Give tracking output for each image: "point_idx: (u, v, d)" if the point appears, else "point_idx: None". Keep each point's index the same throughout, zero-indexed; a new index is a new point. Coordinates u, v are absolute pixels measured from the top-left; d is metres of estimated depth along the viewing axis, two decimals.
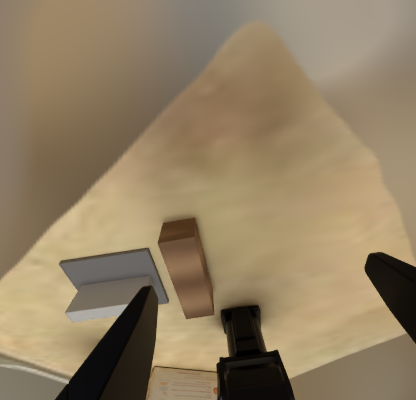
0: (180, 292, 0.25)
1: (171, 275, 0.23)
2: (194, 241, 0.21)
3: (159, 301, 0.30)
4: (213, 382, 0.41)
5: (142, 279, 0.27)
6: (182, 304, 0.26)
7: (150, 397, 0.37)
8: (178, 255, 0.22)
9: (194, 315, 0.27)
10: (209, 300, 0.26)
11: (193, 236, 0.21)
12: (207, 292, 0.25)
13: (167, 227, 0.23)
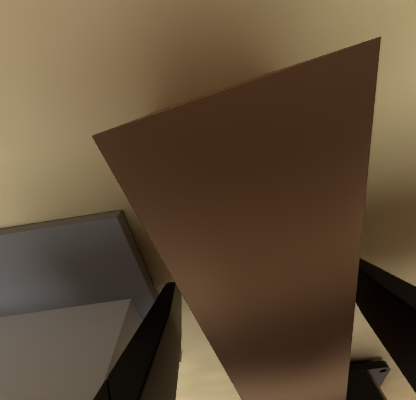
0: (244, 375, 0.07)
1: (207, 325, 0.05)
2: (367, 90, 0.03)
3: None
4: None
5: (107, 311, 0.09)
6: None
7: None
8: (242, 219, 0.04)
9: None
10: (343, 385, 0.07)
11: None
12: (344, 365, 0.07)
13: None
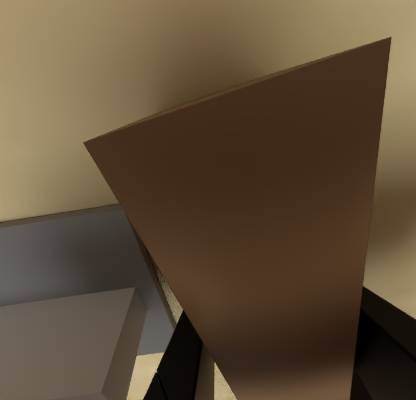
0: (244, 384, 0.06)
1: (206, 334, 0.05)
2: (375, 94, 0.03)
3: (160, 346, 0.13)
4: None
5: (113, 298, 0.10)
6: None
7: None
8: (243, 228, 0.03)
9: None
10: (346, 393, 0.07)
11: (371, 43, 0.02)
12: (347, 373, 0.06)
13: (162, 112, 0.05)
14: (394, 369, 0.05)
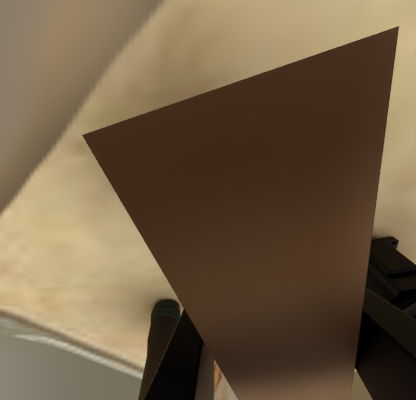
0: (245, 383, 0.06)
1: (207, 333, 0.05)
2: (381, 86, 0.02)
3: None
4: None
5: None
6: None
7: (225, 378, 0.26)
8: (244, 224, 0.03)
9: None
10: (347, 393, 0.07)
11: (378, 33, 0.02)
12: (348, 373, 0.06)
13: None
14: (394, 369, 0.05)
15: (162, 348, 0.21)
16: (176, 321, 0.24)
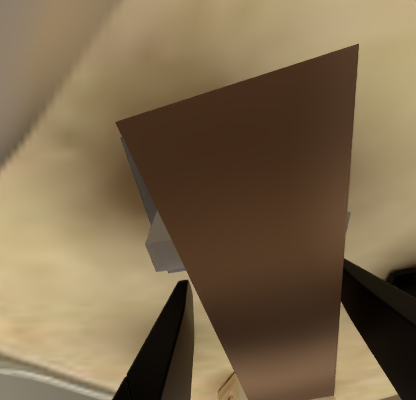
0: (240, 353, 0.07)
1: (207, 301, 0.06)
2: (348, 88, 0.03)
3: None
4: None
5: None
6: (244, 381, 0.08)
7: None
8: (242, 200, 0.04)
9: None
10: (332, 365, 0.08)
11: (345, 48, 0.03)
12: (333, 344, 0.07)
13: None
14: None
15: None
16: None
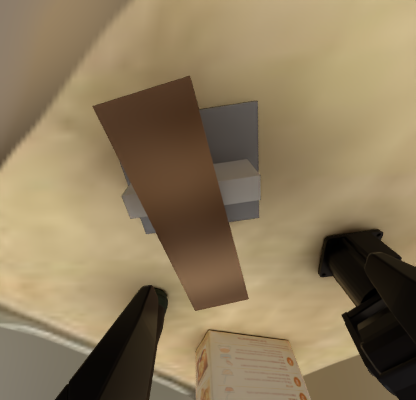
0: (175, 254, 0.12)
1: (148, 210, 0.10)
2: (191, 93, 0.08)
3: (247, 214, 0.20)
4: (284, 350, 0.32)
5: (237, 162, 0.17)
6: (183, 281, 0.13)
7: (211, 367, 0.27)
8: (155, 146, 0.09)
9: (211, 302, 0.14)
10: (238, 268, 0.12)
11: (187, 76, 0.08)
12: (233, 250, 0.12)
13: None
14: None
15: None
16: (163, 309, 0.24)
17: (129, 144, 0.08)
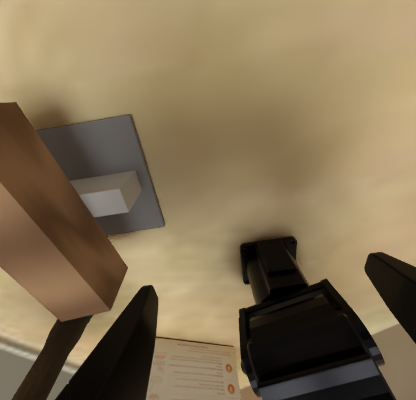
0: (11, 268, 0.12)
1: None
2: None
3: (151, 223, 0.20)
4: (225, 357, 0.31)
5: (122, 173, 0.17)
6: (34, 293, 0.13)
7: None
8: None
9: (73, 313, 0.14)
10: (83, 281, 0.13)
11: None
12: (68, 264, 0.12)
13: None
14: None
15: (57, 343, 0.21)
16: (84, 317, 0.24)
17: None
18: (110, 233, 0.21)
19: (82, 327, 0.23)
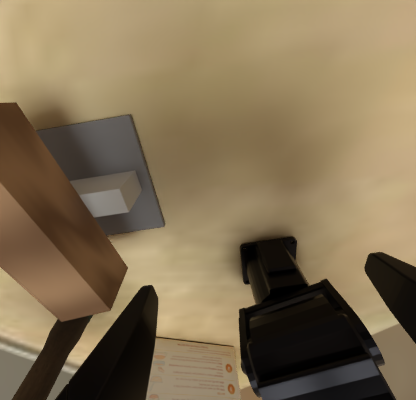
0: (11, 268, 0.12)
1: None
2: None
3: (151, 223, 0.20)
4: (225, 357, 0.31)
5: (122, 174, 0.17)
6: (34, 293, 0.13)
7: None
8: None
9: (73, 313, 0.14)
10: (83, 281, 0.13)
11: None
12: (68, 264, 0.12)
13: None
14: None
15: (57, 343, 0.21)
16: (84, 317, 0.24)
17: None
18: (110, 233, 0.21)
19: (82, 327, 0.23)
